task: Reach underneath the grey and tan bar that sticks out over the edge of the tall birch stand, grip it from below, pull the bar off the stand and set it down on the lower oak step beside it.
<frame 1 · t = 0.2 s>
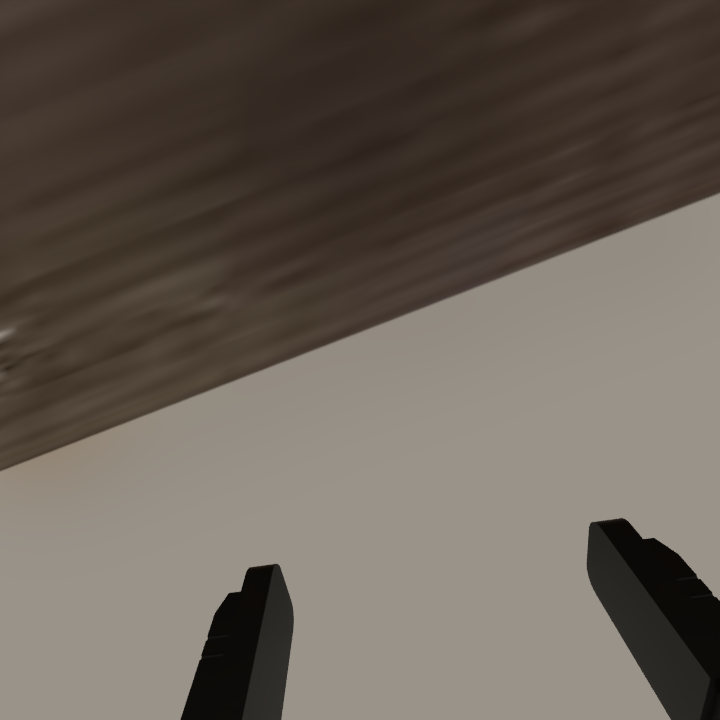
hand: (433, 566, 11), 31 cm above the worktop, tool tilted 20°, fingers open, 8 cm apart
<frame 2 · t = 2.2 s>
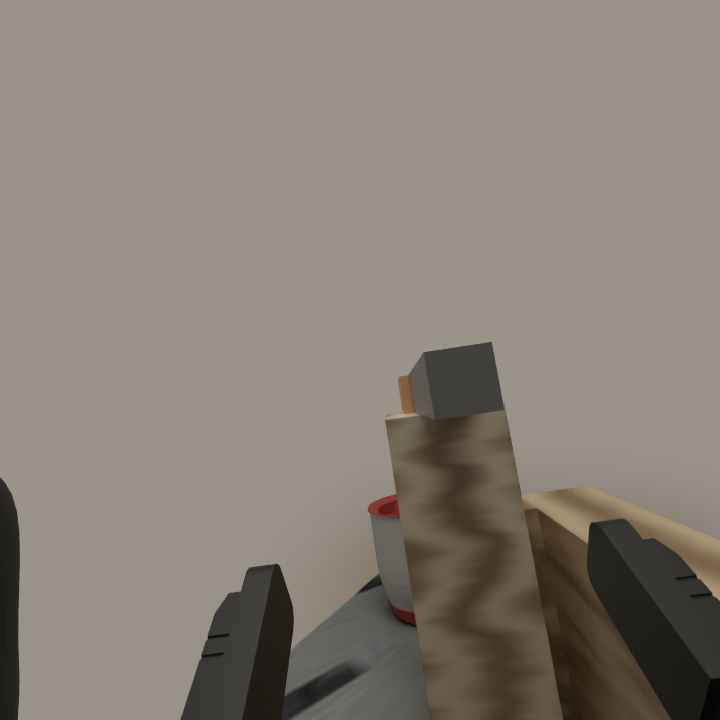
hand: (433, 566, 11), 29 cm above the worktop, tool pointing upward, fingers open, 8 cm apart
grey and tan bar: (441, 411, 37), point 32 cm above the worktop, touching stand
citrus juicer: (436, 608, 67), on the worktop
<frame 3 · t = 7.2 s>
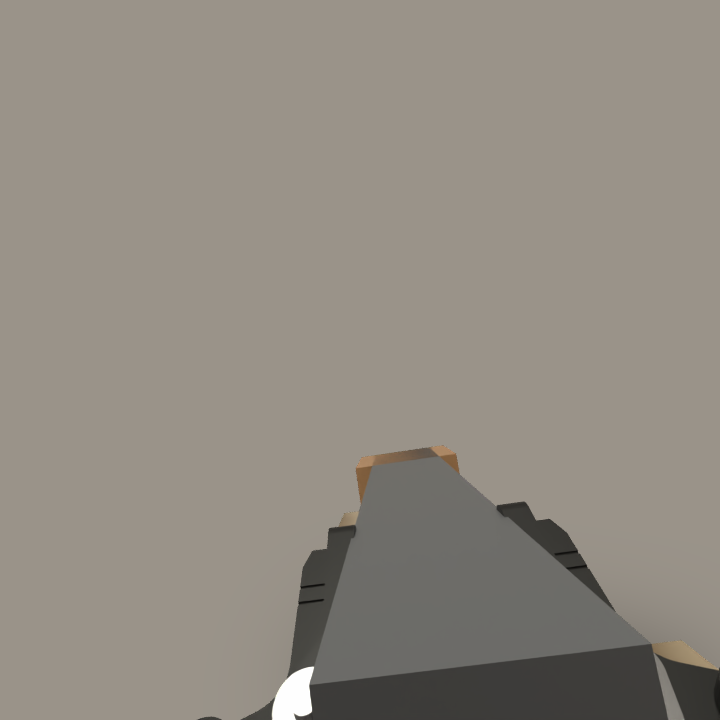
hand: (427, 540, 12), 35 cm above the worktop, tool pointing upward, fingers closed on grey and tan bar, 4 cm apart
grey and tan bar: (428, 578, 17), point 32 cm above the worktop, touching gripper, stand
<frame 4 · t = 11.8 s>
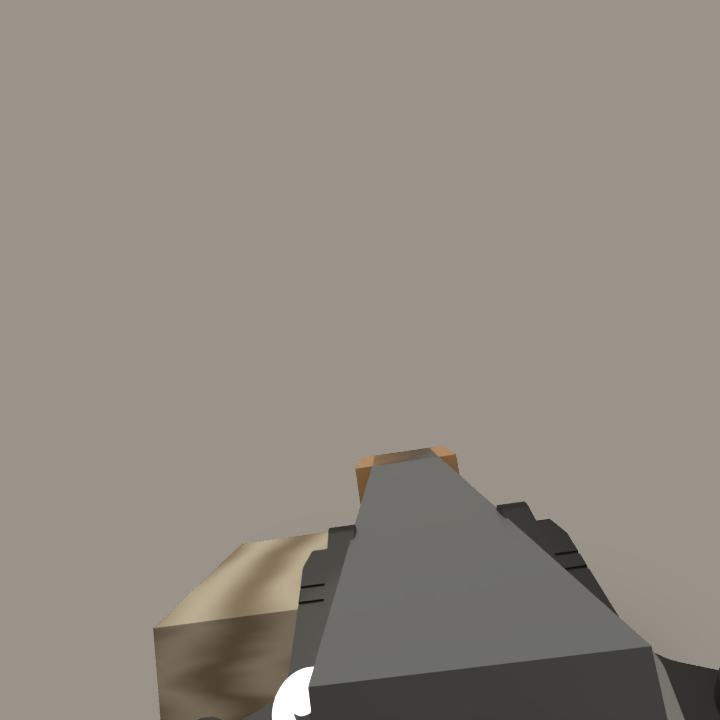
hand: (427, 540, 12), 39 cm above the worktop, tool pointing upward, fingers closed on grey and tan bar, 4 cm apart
grey and tan bar: (427, 579, 17), point 36 cm above the worktop, touching gripper
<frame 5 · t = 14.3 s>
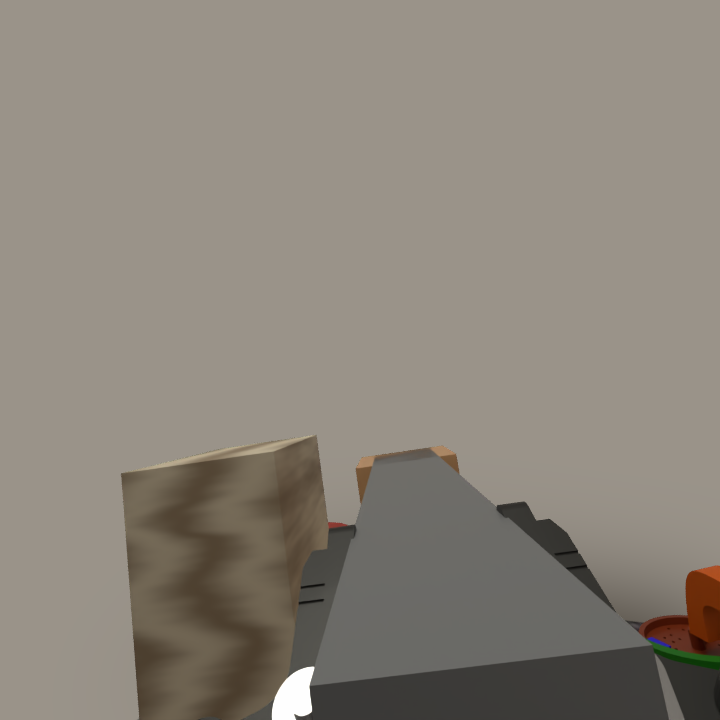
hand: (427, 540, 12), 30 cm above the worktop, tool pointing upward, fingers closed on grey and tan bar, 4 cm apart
grey and tan bar: (428, 579, 17), point 26 cm above the worktop, touching gripper
when the fingers open (25 cm above the worktop, at t = 16.3 s): grey and tan bar drops 1 cm, resting on stand.
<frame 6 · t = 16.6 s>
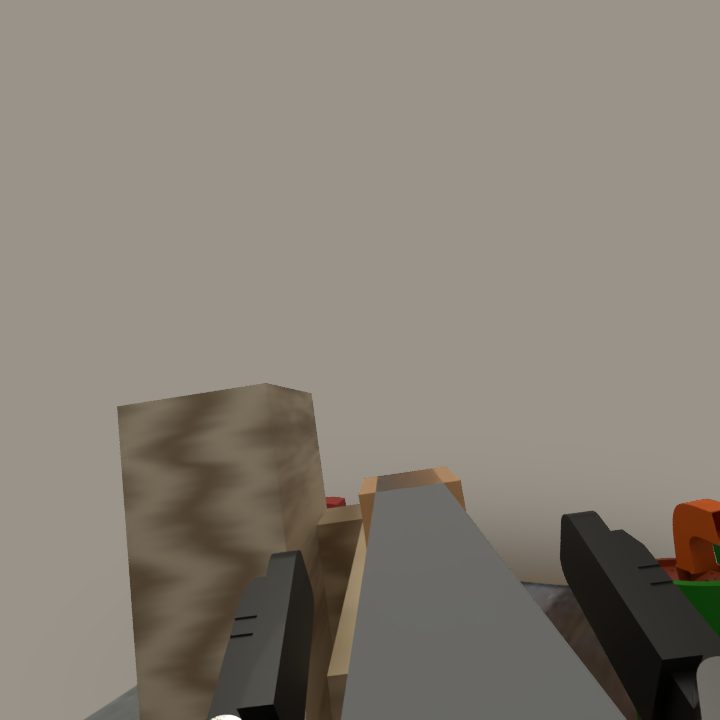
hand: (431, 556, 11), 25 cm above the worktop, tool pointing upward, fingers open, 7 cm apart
grey and tan bar: (434, 619, 17), point 20 cm above the worktop, touching stand
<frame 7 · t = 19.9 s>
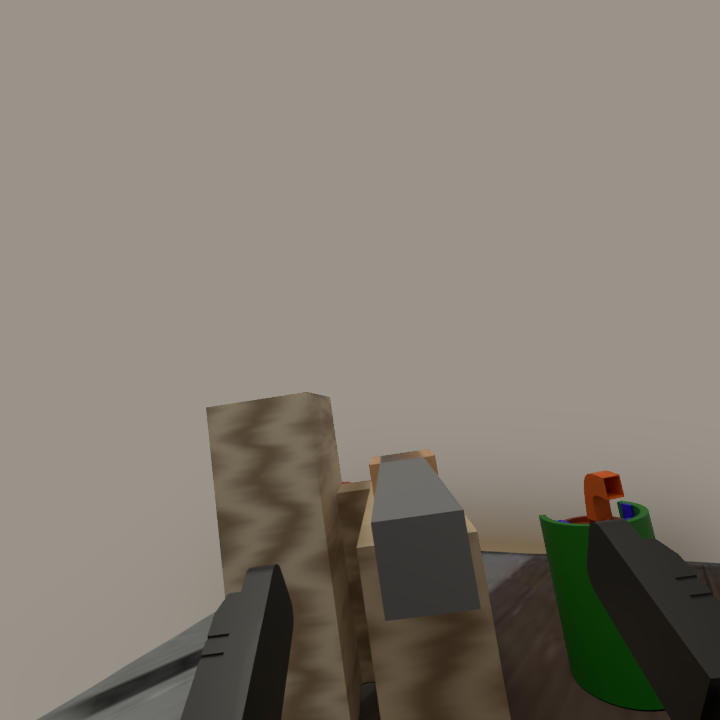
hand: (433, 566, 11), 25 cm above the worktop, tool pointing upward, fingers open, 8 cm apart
motor: (633, 680, 41), on the worktop
grey and tan bar: (413, 527, 30), point 20 cm above the worktop, touching stand
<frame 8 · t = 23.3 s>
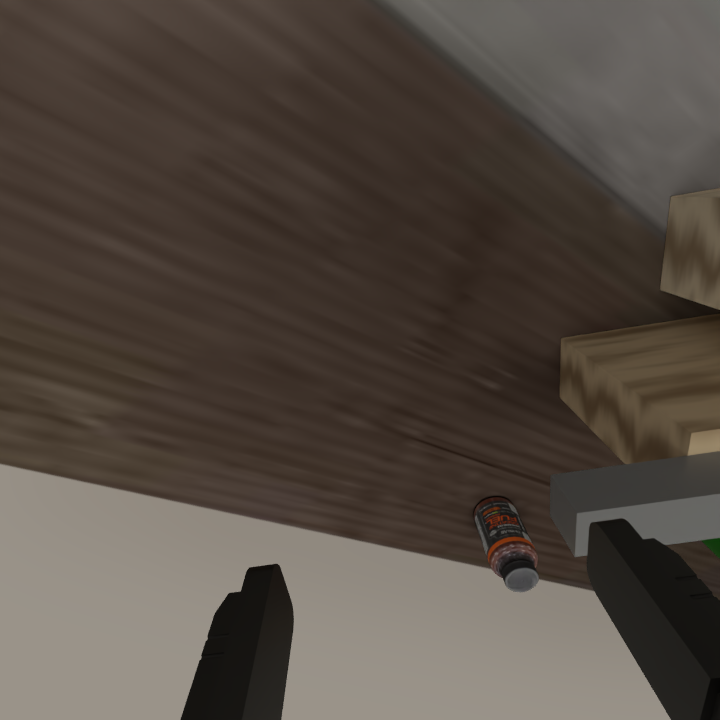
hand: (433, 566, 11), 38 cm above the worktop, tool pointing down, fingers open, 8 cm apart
motor: (680, 472, 57), on the worktop
stand: (681, 294, 47), on the worktop
supplement bottle 2: (492, 510, 59), on the worktop
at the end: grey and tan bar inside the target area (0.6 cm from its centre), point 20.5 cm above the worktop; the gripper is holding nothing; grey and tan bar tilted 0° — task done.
